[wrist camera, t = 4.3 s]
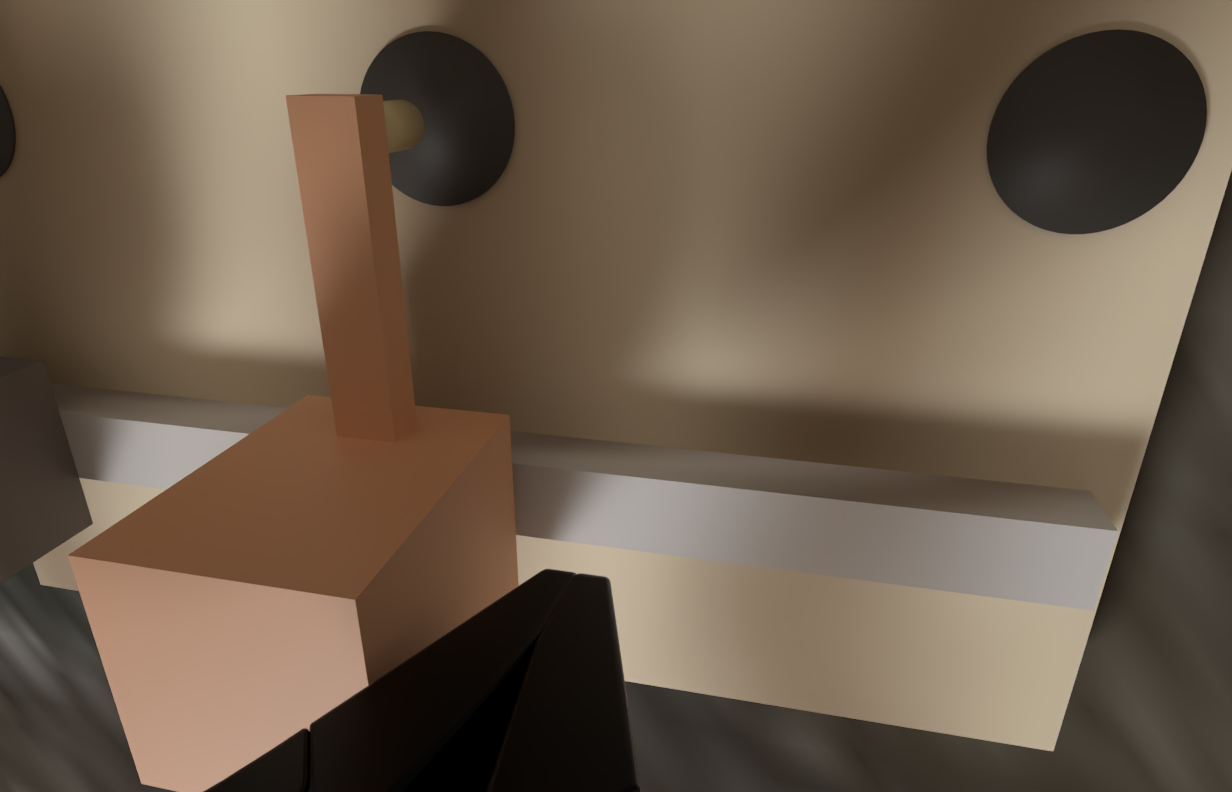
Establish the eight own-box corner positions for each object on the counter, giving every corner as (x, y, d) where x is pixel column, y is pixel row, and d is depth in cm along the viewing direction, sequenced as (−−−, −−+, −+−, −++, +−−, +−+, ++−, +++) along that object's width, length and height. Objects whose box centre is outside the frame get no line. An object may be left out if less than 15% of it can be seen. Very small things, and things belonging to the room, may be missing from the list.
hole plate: (1227, -42, 9) (1983, -230, 3) (1028, 683, 13) (1201, 1155, 8) (-69, -17, 13) (-794, -87, 7) (100, 544, 17) (-261, 790, 11)
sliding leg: (513, 93, 9) (280, 113, 5) (533, 570, 12) (391, 838, 8) (292, 89, 10) (-79, 107, 6) (359, 546, 13) (140, 784, 9)
